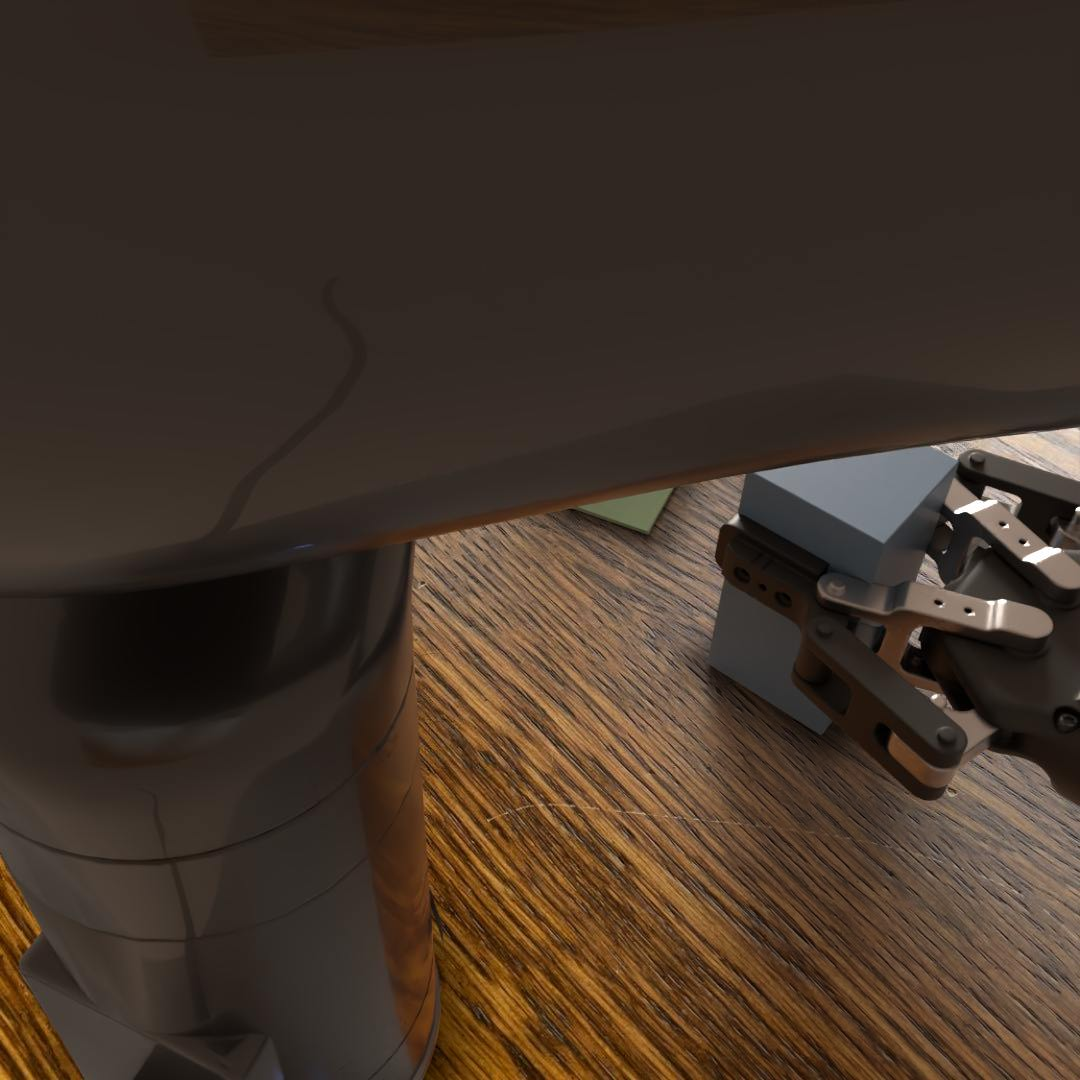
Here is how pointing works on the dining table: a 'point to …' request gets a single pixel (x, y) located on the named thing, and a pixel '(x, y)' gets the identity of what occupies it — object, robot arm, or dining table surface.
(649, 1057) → the dining table surface
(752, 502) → the slate block
